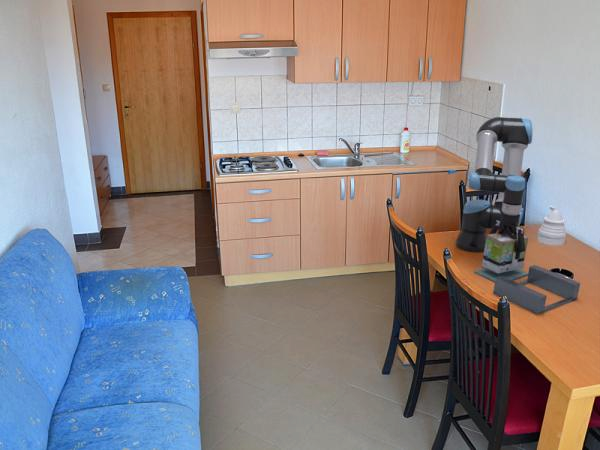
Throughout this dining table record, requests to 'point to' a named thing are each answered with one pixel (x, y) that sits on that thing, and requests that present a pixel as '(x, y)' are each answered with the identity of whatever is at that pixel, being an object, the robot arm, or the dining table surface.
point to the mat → (501, 274)
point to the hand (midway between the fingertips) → (503, 261)
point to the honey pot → (552, 229)
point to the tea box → (501, 253)
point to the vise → (533, 298)
